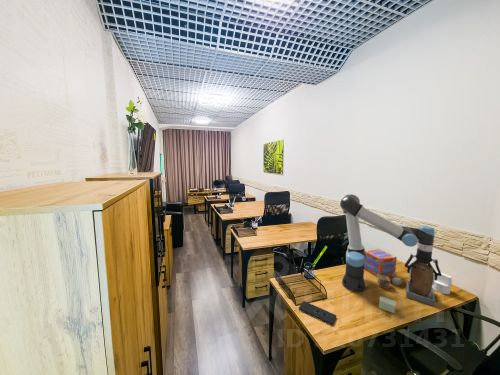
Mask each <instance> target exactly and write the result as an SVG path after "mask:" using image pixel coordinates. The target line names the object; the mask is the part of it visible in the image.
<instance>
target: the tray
mask: <svg viewBox="0 0 500 375" xmlns="http://www.w3.org/2000/svg"><path fill="white" fill-rule="evenodd" d="M409 284H410V280H408V279H407V280H406V285H405V286H406V289H405V292H406V293H405V296H406V297H405V298H408V299H411V300H415V301H418V302H420V303H423V304H426V305H430V306H433V307H435V306H436V298H435V292H434V291H435V290H434V289H433V288H432V289H431V292H430V294H429V295H428V296H422V295H419V294H417V293H416V292H414V291H413V290H412V289H411V288H410V287H409Z"/></svg>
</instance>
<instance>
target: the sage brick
mask: <svg viewBox="0 0 500 375" xmlns="http://www.w3.org/2000/svg"><path fill="white" fill-rule="evenodd" d="M379 296H380V297H379V303H378V308H379V309H382V310H384V311H387V312H390V313H392V314H396V306H397V302H396V301H397V300H396V301H395V300H394V299H391V298H387V297H384V296H381V295H379Z"/></svg>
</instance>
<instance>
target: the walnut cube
mask: <svg viewBox="0 0 500 375" xmlns="http://www.w3.org/2000/svg"><path fill="white" fill-rule="evenodd" d="M377 283H378V285H379V288H383V289H384V288H385V289H389V290H390V287H391V279H390V277H388V276H382V275H378V277H377Z"/></svg>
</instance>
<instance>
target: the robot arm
mask: <svg viewBox="0 0 500 375" xmlns="http://www.w3.org/2000/svg"><path fill="white" fill-rule="evenodd" d="M360 202H361V200H360V198H359V197H358V196H357V195H355V194H346V195H345V196H344V197H343V198H342V199H341V200H340V202H339V206H340V208H341V210H342V213H343V214H344V215H345V220H346V228H347V237H348V245H347V253H346V255H345V256H346V257H345V273H344V275H343V277H342V279H341V284H342V286H343V287H344V288H346V289H347V290H349V291H351V292H355V293H362V292H364V291H366V288H367V287H366V282H365V279H364V275H365V274H364V273H365V269H364V266H365V260H366V253H365V251H366V248H365V246H364V245H363V242H362V235H361V234H362V233H361V228H360V226H361V225H360V219H361V220H363V221H364V222H366V223H368V224H370V225H372V226H373V227H375V228H377V229H379V230H381V231H383V232H384V233H386V234H388V235H390V236H392V237H393V238H395V239H397V240H399V241H400V242H402V243H403V244H404V245H405V246H407V247H414V246H416V245H417V246H416V254H413V253H410V256H409V258H408V259H407V261H406V262H405V264H404V267H405V268H406V269H407V274H408V279H411V268H412V267H413V266H414V265H415V264H417V263H419V262H420V263H424V264H427V265H428V266H429V267H432V268H433V282H432V286H433V285H434V280H437V276H442V275H441V269H440V267H439V260H438V259H437V258H432V256H433V249H434V239H435V233H436V232H435V228H434V227H432V226H428V225H419V228H418V227H411V226H404V225H398V224H396V223H394V222H392V221H390V220H389V219H386V218H385V217H383V216H380V215H379V214H377V213H374V212H373V211H371V210H369V209H367V208H365V207H364V205H363V204H361V203H360ZM359 218H360V219H359ZM413 259H414V261H413V262H412V260H413ZM431 262H432V263H434V265H435V267H436V269H435V268H434V267H433V265H432V264H431ZM436 271H438V273H436Z"/></svg>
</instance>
